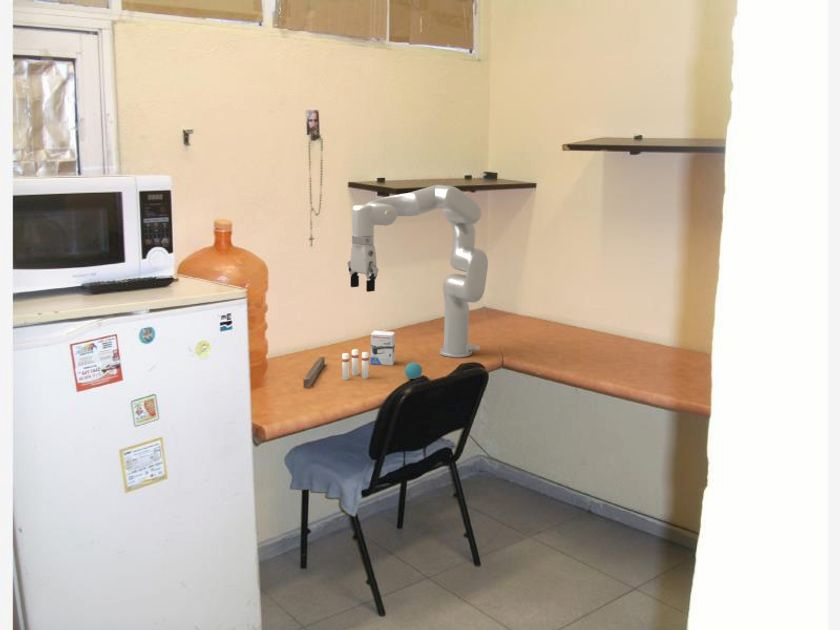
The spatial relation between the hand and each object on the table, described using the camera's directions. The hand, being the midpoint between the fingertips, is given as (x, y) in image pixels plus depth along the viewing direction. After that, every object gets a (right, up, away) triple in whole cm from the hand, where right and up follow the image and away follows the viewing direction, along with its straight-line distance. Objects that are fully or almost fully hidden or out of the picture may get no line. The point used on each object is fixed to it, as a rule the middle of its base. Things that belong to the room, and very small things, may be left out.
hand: (362, 289), depth 281 cm
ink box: (+6, -27, +19) cm, 34 cm away
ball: (+18, -29, -1) cm, 34 cm away
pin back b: (-6, -31, -2) cm, 32 cm away
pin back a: (-3, -30, +3) cm, 31 cm away
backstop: (-17, -31, +1) cm, 35 cm away
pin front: (+1, -31, 0) cm, 31 cm away
